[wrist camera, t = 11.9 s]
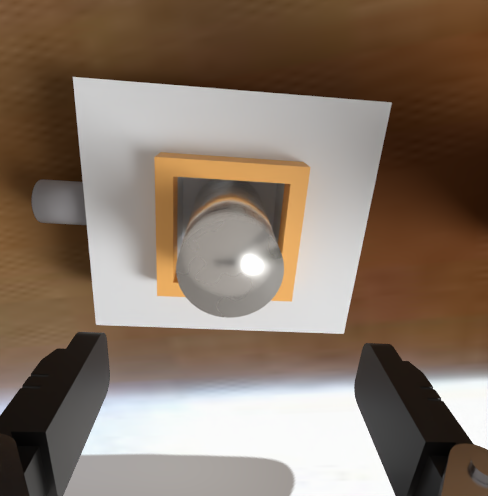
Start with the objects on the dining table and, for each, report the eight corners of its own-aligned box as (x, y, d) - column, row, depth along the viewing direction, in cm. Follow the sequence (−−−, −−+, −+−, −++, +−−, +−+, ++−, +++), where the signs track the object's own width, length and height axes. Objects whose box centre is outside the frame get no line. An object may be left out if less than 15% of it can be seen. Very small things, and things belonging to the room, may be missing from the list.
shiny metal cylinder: (265, 178, 25) (289, 222, 16) (259, 244, 27) (278, 318, 18) (193, 174, 25) (175, 217, 16) (193, 242, 27) (176, 316, 17)
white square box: (357, 102, 26) (407, 102, 19) (323, 294, 32) (352, 350, 25) (47, 77, 25) (-28, 67, 18) (72, 283, 31) (23, 340, 23)
